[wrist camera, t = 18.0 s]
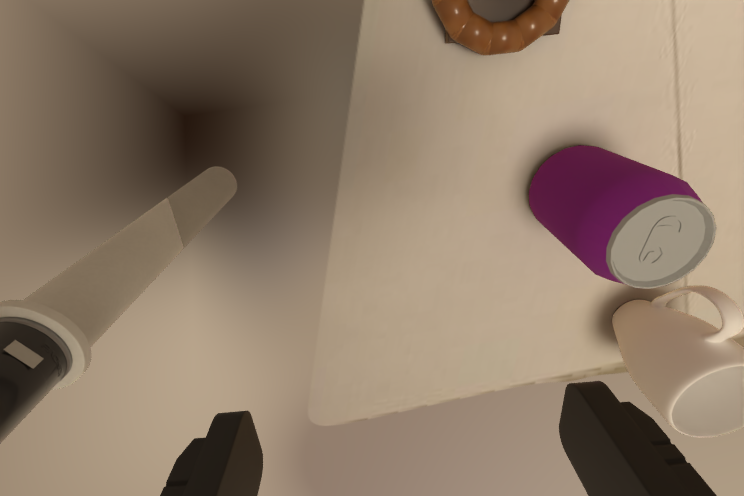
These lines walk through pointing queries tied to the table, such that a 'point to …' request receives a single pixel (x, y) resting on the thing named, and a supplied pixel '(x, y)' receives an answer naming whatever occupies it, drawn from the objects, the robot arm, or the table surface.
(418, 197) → the table surface
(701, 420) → the mug
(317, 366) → the table surface
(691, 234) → the beverage can
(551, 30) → the peg stand
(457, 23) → the ring
